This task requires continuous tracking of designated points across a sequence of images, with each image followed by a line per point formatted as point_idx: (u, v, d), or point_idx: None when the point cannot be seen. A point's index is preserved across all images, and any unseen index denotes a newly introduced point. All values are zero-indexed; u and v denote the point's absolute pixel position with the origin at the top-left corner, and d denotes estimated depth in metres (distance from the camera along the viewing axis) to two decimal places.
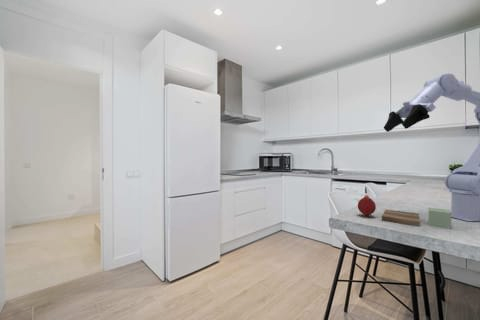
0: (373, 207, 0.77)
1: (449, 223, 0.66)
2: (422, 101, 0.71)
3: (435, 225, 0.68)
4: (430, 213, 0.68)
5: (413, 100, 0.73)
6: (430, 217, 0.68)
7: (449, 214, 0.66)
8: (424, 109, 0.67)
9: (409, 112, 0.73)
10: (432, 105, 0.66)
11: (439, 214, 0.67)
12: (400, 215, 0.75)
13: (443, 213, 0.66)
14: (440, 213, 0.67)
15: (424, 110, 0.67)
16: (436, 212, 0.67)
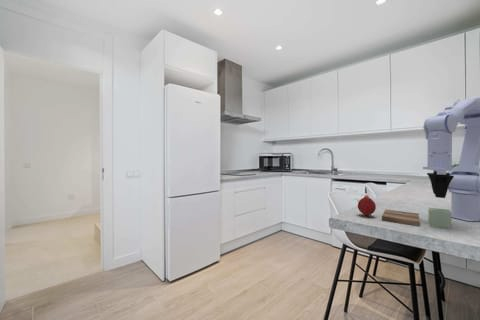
0: (373, 207, 0.77)
1: (449, 223, 0.66)
2: (435, 160, 0.67)
3: (435, 225, 0.68)
4: (430, 213, 0.68)
5: (428, 161, 0.70)
6: (430, 217, 0.68)
7: (449, 214, 0.66)
8: (438, 175, 0.64)
9: None
10: (440, 169, 0.63)
11: (439, 214, 0.67)
12: (400, 215, 0.75)
13: (443, 213, 0.66)
14: (440, 213, 0.67)
15: (440, 176, 0.64)
16: (436, 212, 0.67)
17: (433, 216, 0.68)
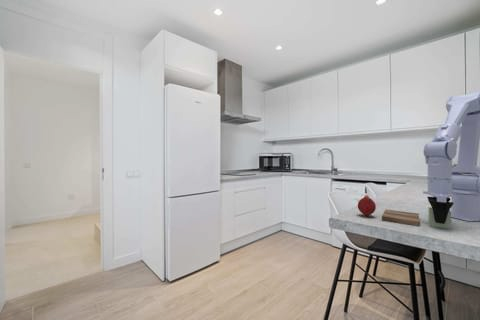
0: (373, 207, 0.77)
1: (449, 223, 0.66)
2: (435, 186, 0.67)
3: (435, 225, 0.68)
4: (430, 213, 0.68)
5: (428, 186, 0.70)
6: (430, 217, 0.68)
7: (449, 214, 0.66)
8: (438, 202, 0.65)
9: None
10: (440, 197, 0.63)
11: None
12: (400, 215, 0.75)
13: None
14: None
15: (439, 202, 0.65)
16: None
17: (433, 216, 0.68)
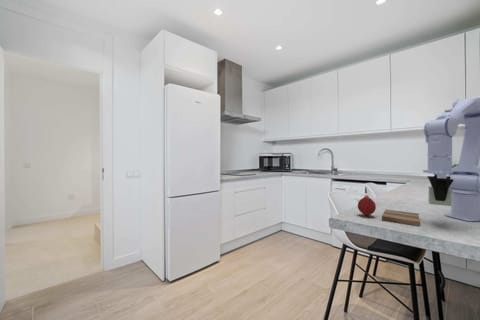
0: (373, 207, 0.77)
1: (449, 200, 0.66)
2: (435, 163, 0.67)
3: (435, 203, 0.68)
4: (430, 191, 0.68)
5: (428, 165, 0.70)
6: (430, 195, 0.68)
7: (449, 191, 0.66)
8: (438, 179, 0.65)
9: None
10: (440, 173, 0.63)
11: None
12: (400, 215, 0.75)
13: None
14: None
15: (439, 179, 0.65)
16: None
17: (433, 194, 0.68)
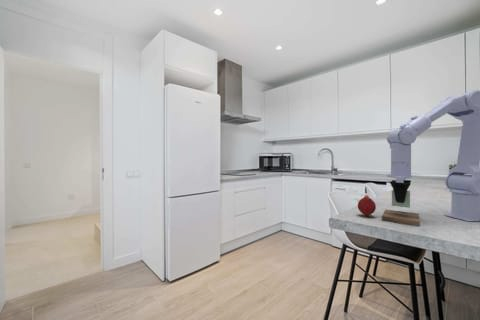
0: (373, 207, 0.77)
1: (408, 202, 0.73)
2: (396, 169, 0.74)
3: (396, 204, 0.75)
4: (392, 194, 0.75)
5: (391, 170, 0.77)
6: (392, 197, 0.75)
7: (408, 194, 0.73)
8: (398, 183, 0.72)
9: None
10: (398, 178, 0.70)
11: None
12: (400, 215, 0.75)
13: None
14: None
15: (399, 183, 0.72)
16: None
17: None
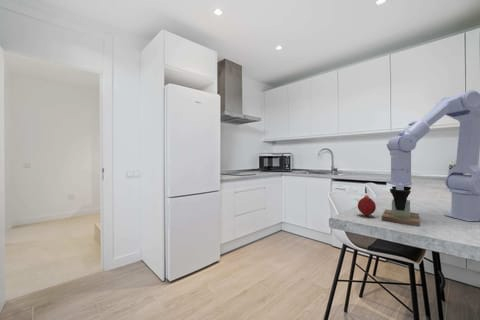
0: (373, 207, 0.77)
1: (408, 212, 0.73)
2: (396, 176, 0.75)
3: (396, 214, 0.75)
4: (392, 203, 0.75)
5: (391, 177, 0.77)
6: (392, 207, 0.75)
7: (408, 204, 0.73)
8: (397, 190, 0.71)
9: None
10: (398, 185, 0.70)
11: None
12: None
13: None
14: None
15: (398, 191, 0.71)
16: None
17: None
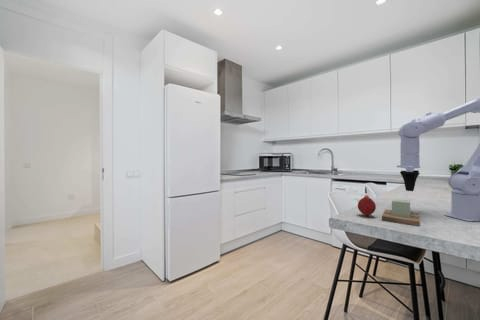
0: (373, 207, 0.77)
1: (408, 212, 0.73)
2: (405, 160, 0.81)
3: (396, 214, 0.75)
4: (392, 203, 0.75)
5: None
6: (392, 207, 0.75)
7: (408, 204, 0.73)
8: (407, 172, 0.78)
9: None
10: (408, 168, 0.77)
11: (400, 204, 0.74)
12: None
13: (403, 203, 0.73)
14: (401, 203, 0.74)
15: (408, 173, 0.78)
16: (397, 202, 0.74)
17: (395, 206, 0.75)
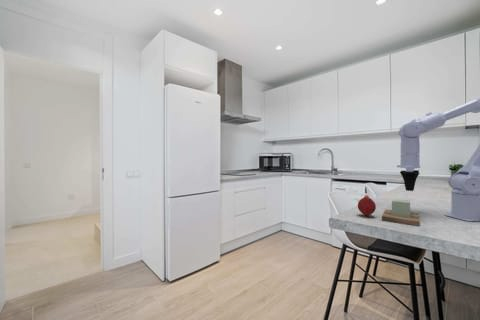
0: (373, 207, 0.77)
1: (408, 212, 0.73)
2: (405, 159, 0.81)
3: (396, 214, 0.75)
4: (392, 203, 0.75)
5: None
6: (392, 207, 0.75)
7: (408, 204, 0.73)
8: (407, 172, 0.78)
9: None
10: (408, 167, 0.77)
11: (400, 204, 0.74)
12: None
13: (403, 203, 0.73)
14: (401, 203, 0.74)
15: (408, 173, 0.78)
16: (397, 202, 0.74)
17: (395, 206, 0.75)
